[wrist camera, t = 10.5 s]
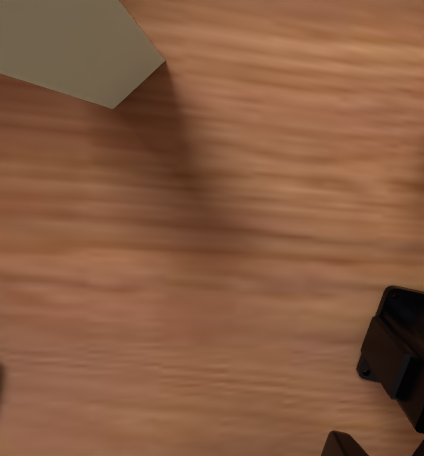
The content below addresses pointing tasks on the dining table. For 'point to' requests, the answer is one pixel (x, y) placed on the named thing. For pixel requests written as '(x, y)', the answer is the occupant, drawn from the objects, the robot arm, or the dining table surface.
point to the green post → (76, 48)
